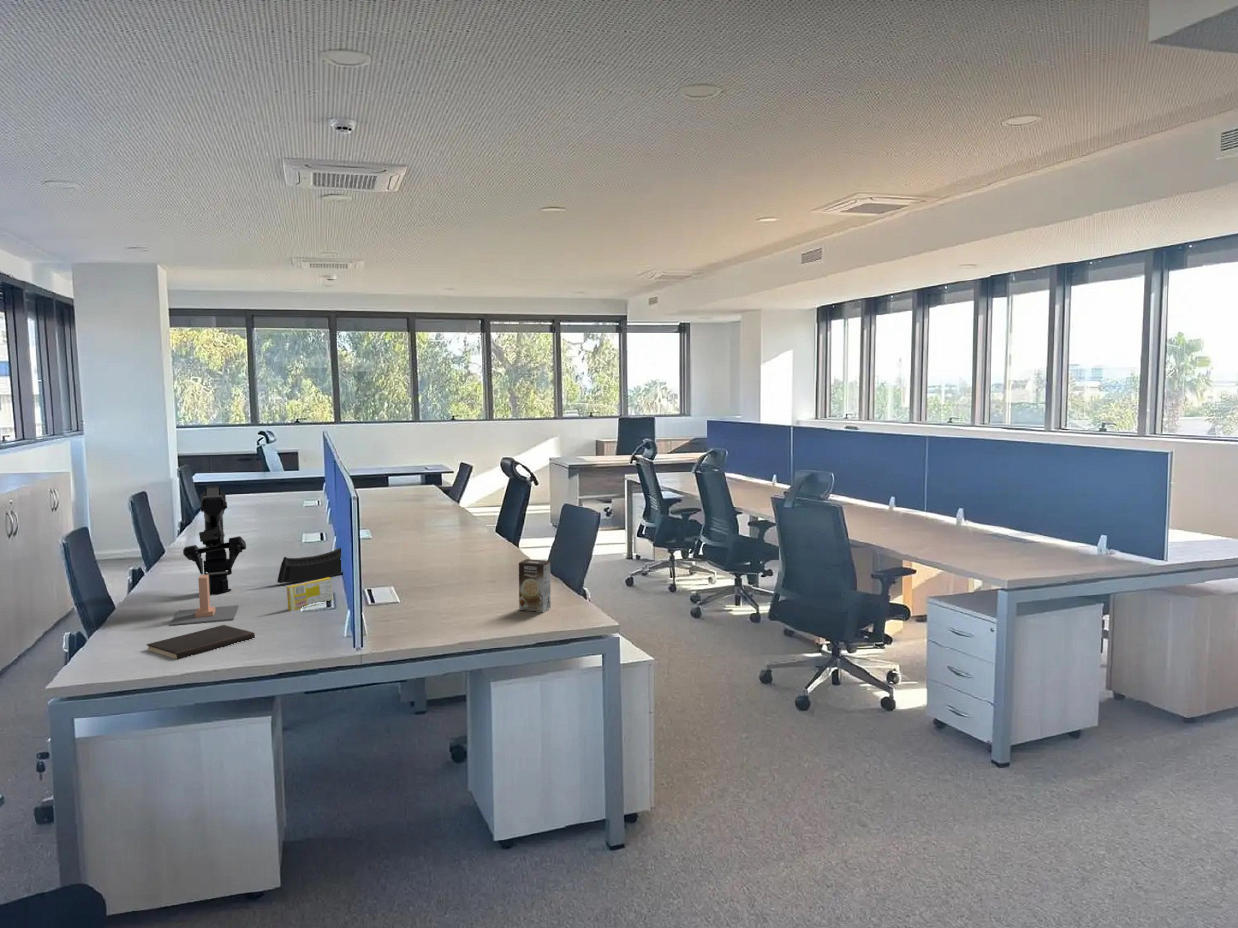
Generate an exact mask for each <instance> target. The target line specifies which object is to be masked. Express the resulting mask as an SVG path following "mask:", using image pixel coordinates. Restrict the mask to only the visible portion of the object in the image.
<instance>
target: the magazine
mask: <svg viewBox="0 0 1238 928" xmlns="http://www.w3.org/2000/svg"><path fill="white" fill-rule="evenodd" d="M340 558H341V547H339V548H336V549H335V550H331V551H329V552H326V553H322V554H317V555H312V556H311V555H310V556H303V557H287V556H284V557H283V558H282V562H281V563H280V568H279V572H278V576H277V580H276V581H277V583H278V584H284V583H285V584H286V583H306V582H310V581H314V580H319V579H323V578H328V577H329V578H332V577H334V576H337V575H340V574H342V573H341V560H340Z"/></svg>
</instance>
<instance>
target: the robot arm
mask: <svg viewBox="0 0 1238 928" xmlns="http://www.w3.org/2000/svg"><path fill="white" fill-rule="evenodd" d="M226 497H227V496H226V492H225V491H223V490H222V489H221V486H218V485H213V486H211V485H210V486H205V489H204V491H203V492H202V493H201V494H200V512H201V513H203V518H204V530H203V531H200V532H199V533H198V535H199V540H200V542H201V543H202V545H204V546H203V547H198V546H197V545H196V544H193V545H189V546H185V547H184V548H183V549H182V555H183V556H184V557H185V558H186V559H188V560H189V561H192V562H194V563H195V565H196V566H197V570H198V571H199V574H200V575H209V592H210V595H211V594H212V595H213V594H214V595H219V594H224V593H226V592H230V591H232V589H231V588H229V579H228V576H230V575H232V574H233V571H232V568H233V566H234V564H235V561H236V560H237V558H238V557H239V555H240V554H241V553H242V552H243V551H244V550H246V549H247V542H246V541H245V540H244V539H243V537H241V536H240V535H239V536H234V537H229V538H228V541H227V542H225V539H224V538H225V536H226V534H225V532H224V514H225V511H226V509H228V501H227V498H226ZM226 549H228V553H229V554H228V557H227V551H226ZM202 554H205V560H204V559H203V558H202Z"/></svg>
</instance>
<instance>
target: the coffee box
mask: <svg viewBox="0 0 1238 928" xmlns="http://www.w3.org/2000/svg"><path fill="white" fill-rule="evenodd" d="M551 581H552V579H551V561H550V560H542V559H531V558H530V559H529V558H526V559H524V560H521V561H519V562H518V611H520V610H526V611H525V612H530V611H536V612H535V613H541V612H544V613H546V612H547V611H548V609H549V608H550V609H552V606H551V605H552V604H551V603H552V602H551V593H552V592H551V591H552V590H551V587H552V586H551V585H552V584H551ZM550 609H549V610H550ZM546 610H547V611H546Z"/></svg>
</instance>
